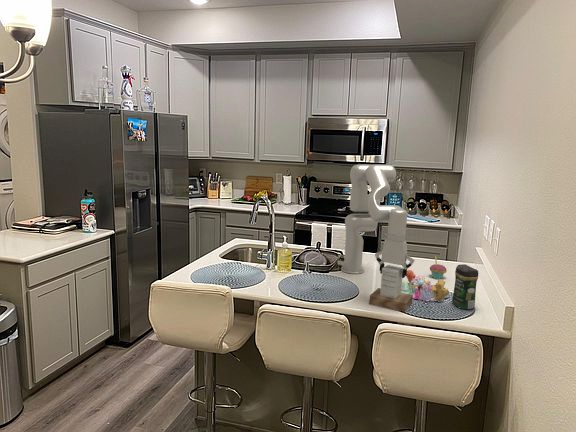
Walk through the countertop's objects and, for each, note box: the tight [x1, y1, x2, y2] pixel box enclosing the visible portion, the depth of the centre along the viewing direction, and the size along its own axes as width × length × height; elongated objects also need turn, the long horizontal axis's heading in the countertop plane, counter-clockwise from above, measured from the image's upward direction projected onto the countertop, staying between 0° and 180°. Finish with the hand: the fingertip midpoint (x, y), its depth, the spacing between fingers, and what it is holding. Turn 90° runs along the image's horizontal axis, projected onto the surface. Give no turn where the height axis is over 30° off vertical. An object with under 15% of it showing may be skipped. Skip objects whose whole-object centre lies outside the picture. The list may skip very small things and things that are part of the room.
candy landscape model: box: [401, 269, 451, 303], centre depth 211 cm, size 25×24×9 cm
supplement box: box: [380, 264, 404, 299], centre depth 195 cm, size 7×7×13 cm
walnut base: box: [368, 287, 414, 313], centre depth 196 cm, size 16×12×4 cm
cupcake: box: [429, 255, 448, 280], centre depth 235 cm, size 9×8×12 cm
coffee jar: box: [451, 263, 479, 310], centre depth 195 cm, size 10×8×19 cm
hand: (392, 275), depth 194 cm, fingers open, 9 cm apart
